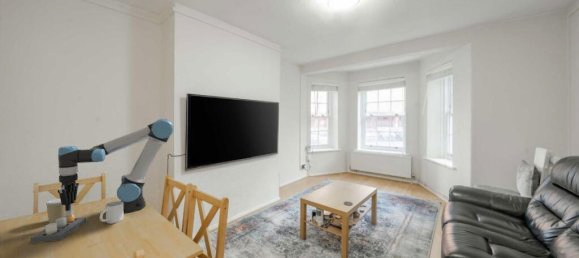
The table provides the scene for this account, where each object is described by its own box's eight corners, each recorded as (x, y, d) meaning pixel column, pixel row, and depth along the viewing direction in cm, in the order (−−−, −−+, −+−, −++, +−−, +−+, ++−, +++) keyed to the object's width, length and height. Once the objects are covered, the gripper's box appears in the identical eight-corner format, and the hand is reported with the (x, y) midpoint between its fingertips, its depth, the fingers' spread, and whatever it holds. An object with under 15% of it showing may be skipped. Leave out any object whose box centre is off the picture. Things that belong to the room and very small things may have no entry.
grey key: (68, 225, 122) (68, 216, 122) (62, 229, 118) (62, 220, 118) (59, 226, 121) (59, 217, 121) (53, 230, 117) (53, 220, 117)
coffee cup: (74, 217, 135) (73, 198, 135) (56, 225, 126) (56, 204, 125) (60, 216, 136) (59, 197, 136) (42, 223, 127) (41, 203, 126)
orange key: (76, 222, 129) (76, 213, 128) (71, 225, 125) (71, 217, 124) (68, 222, 128) (68, 214, 127) (63, 226, 124) (62, 217, 123)
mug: (104, 228, 124) (103, 210, 124) (95, 225, 127) (94, 207, 127) (126, 219, 135) (126, 202, 135) (117, 216, 139) (117, 200, 138)
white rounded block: (59, 231, 116) (59, 222, 116) (53, 235, 112) (52, 226, 112) (49, 232, 115) (49, 223, 115) (43, 236, 111) (43, 226, 111)
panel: (86, 221, 131) (86, 217, 131) (60, 240, 112) (60, 235, 111) (61, 223, 128) (61, 218, 128) (30, 242, 109) (30, 237, 109)
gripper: (68, 171, 130) (69, 210, 131) (50, 177, 117) (52, 221, 119) (84, 171, 132) (84, 210, 133) (68, 177, 119) (69, 220, 120)
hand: (69, 215), depth 126 cm, fingers closed
